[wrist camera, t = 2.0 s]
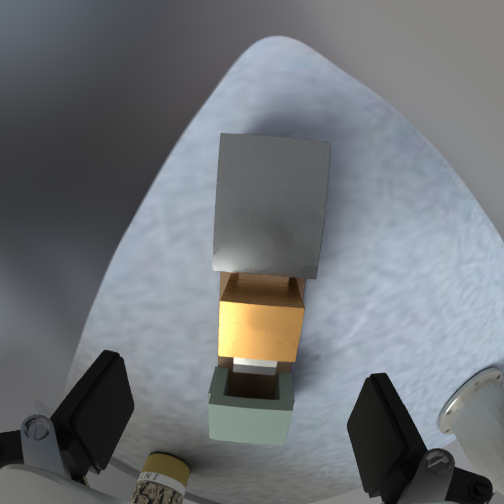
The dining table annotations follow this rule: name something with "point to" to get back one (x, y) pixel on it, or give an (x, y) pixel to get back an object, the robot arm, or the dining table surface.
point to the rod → (260, 321)
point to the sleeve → (270, 205)
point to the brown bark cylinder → (161, 481)
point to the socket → (249, 412)
